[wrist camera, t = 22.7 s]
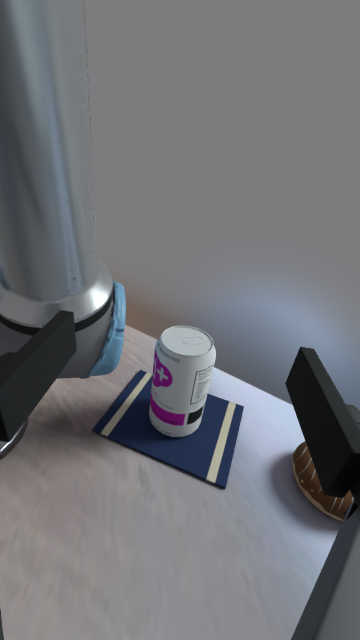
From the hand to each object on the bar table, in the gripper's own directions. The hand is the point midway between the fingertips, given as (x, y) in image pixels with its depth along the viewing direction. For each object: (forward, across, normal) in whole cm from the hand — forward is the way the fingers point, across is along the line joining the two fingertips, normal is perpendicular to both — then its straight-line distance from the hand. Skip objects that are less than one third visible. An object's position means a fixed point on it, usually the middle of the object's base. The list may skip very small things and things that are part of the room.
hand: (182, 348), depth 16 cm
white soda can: (+17, 0, -26) cm, 31 cm away
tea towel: (+17, 0, -26) cm, 31 cm away
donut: (+10, +22, -26) cm, 36 cm away
